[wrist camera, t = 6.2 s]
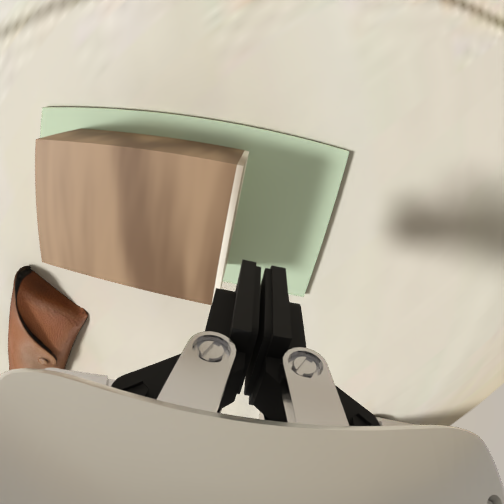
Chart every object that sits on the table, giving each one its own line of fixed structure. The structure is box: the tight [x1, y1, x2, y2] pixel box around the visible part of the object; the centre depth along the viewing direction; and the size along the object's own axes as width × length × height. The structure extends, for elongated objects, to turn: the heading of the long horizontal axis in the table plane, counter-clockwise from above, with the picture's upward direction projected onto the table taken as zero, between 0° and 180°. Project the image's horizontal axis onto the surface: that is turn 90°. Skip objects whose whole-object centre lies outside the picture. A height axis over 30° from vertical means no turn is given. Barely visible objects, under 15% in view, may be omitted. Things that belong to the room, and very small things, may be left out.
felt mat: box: [40, 107, 349, 297], centre depth 20 cm, size 22×11×1 cm, turn 78°
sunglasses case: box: [8, 266, 88, 370], centre depth 27 cm, size 18×7×7 cm
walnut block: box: [35, 129, 249, 305], centre depth 17 cm, size 5×8×12 cm
